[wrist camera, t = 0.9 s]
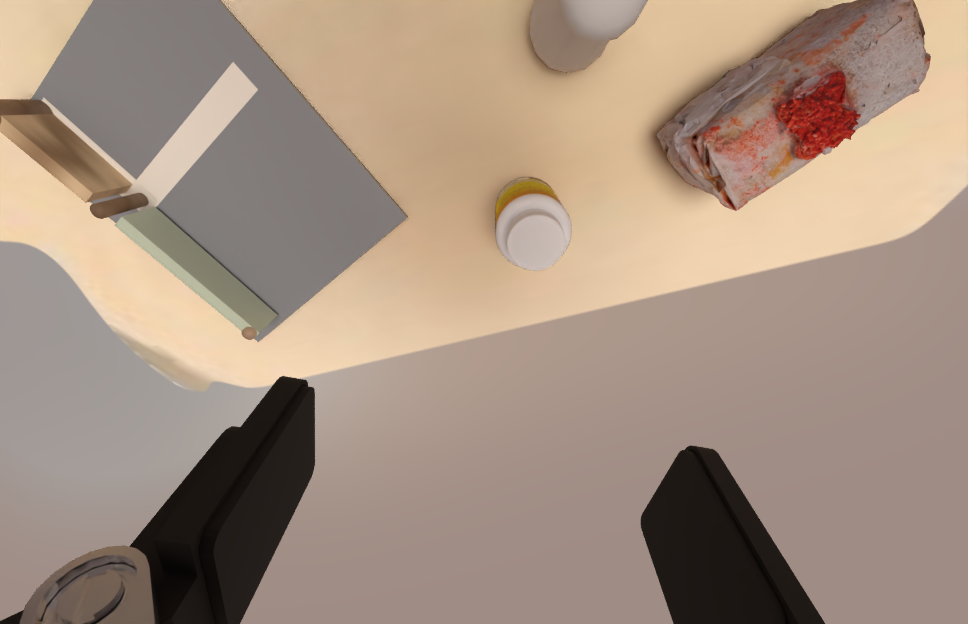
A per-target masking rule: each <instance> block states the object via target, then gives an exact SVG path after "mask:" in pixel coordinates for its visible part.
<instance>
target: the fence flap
mask: <svg viewBox="0 0 968 624" xmlns="http://www.w3.org/2000/svg"><path fill="white" fill-rule="evenodd" d="M115 226H116V227H117V228H118V229H119V230H121V231H122V232H123V233H124V234H125V235H127V236H128V237H129V238H130V239H131V240H133V241H134V242H135V243H136V244H137V245H139V246H140V247H141V248H142V249H143V250H145V251H146V252H147V253H148V254H149V255H151V256H152V257H153V258H154V259H156V260H157V261H158V262H159V263H160V264H162V265H163V266H164V267H165V268H166V269H168V270H169V271H170V272H171V273H172V274H174V275H175V276H176V277H177V278H178V279H180V280H181V281H182V282H183V283H184V284H186V285H187V286H188V287H189V288H190V289H192V290H193V291H194V292H195V293H196V294H198V295H199V296H200V297H201V298H202V299H204V300H205V301H206V302H207V303H208V304H210V305H211V306H212V307H213V308H214V309H216V310H217V311H218V312H219V313H220V314H222V315H223V316H224V317H225V318H226V319H228V320H229V321H230V322H231V323H232V324H234V325H235V326H236V327H237V328H239V329H240V330H241V331H242V335H243V337H244V338H246V339H249V340H251V339H254V338H255V337H256V336H257V335H258V334H259V333H260V332H261V331H262V330H263V329H264V328H265V327H266V326H267V325H268V324H269V323H270V322H272V321H273V320H274V319H275V318H276V317H277V316H278V315H277V314H276V313H275V312H274V311H273V310H271V309H270V308H269V307H268V306H267V305H266V304H265V303H264V302H262V301H261V300H260V299H259V298H258V297H257V296H256V295H254V294H253V293H252V292H251V291H250V290H249V289H248V288H247V287H245V286H244V285H243V284H242V283H241V282H240V281H239V280H237V279H236V278H235V277H234V276H233V275H232V274H231V273H230V272H228V271H227V270H226V269H225V268H224V267H223V266H222V265H220V264H219V263H218V262H217V261H216V260H215V259H214V258H213V257H211V256H210V255H209V254H208V253H207V252H206V251H205V250H203V249H202V248H201V247H200V246H199V245H198V244H197V243H196V242H194V241H193V240H192V239H191V238H190V237H189V236H188V235H186V234H185V233H184V232H183V231H182V230H181V229H180V228H179V227H177V226H176V225H175V224H174V223H173V222H172V221H171V220H169V219H168V218H167V217H166V216H165V215H164V214H163V213H161V212H160V211H159V210H158V209H157V208H156V207H152V208H149V209H145V210H142V211H139V212H135V213H132V214H129V215H125V216H122V217H121V218H120V219H119V221H118V222H117V223H116V224H115Z"/></svg>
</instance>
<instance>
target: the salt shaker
mask: <svg viewBox="0 0 968 624" xmlns="http://www.w3.org/2000/svg"><path fill="white" fill-rule="evenodd" d="M647 1H648V0H536V1H535V3H534V5H533V8H532V10H531V18H530V31H529V35H530V38H531V41H532V43H533V46H534V49H535V52H536V54H537V55H538V56H539V58H540V59H541V60H542V61H543V62H544V63H545V64H546V65H547V66H548V67H549V68H551V69H554V70H558V71H562V72H566V73H568V72H573V71H577V70H582V69H585V68H586V67H588V66H589V65H590V64H591V63H592V62H594V61H595V60H596V59H597V58H598V57H600V56H601V54H602V52H603V51H604V49H605V47H606V45H607V43H608V42H609V40H613V39H617V38H618V37H619V36H620V35H622V34H623V33H624V32H625V31H626V30H628V29H629V28H630V27H631V26H632V25H633V24H634V23H635V22H636V20H637V18H638V17H639V15H640V13H641V11H642V10H643V8H644V6H645V4H646V3H647Z"/></svg>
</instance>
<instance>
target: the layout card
mask: <svg viewBox="0 0 968 624" xmlns="http://www.w3.org/2000/svg"><path fill="white" fill-rule="evenodd" d="M31 100H41V101H43V102H44V103H46V104H47V105H48V106H49V107H50V108H51V110H52V112H53V114H54V115H55V116H56V117H57V118H58V119H59V120H61V121H62V122H63V123H64V124H65V125H66V126H67V127H68V128H70V129H71V130H72V131H73V132H74V133H75V134H76V135H78V136H79V137H80V138H81V139H82V140H83V141H84V142H85V143H87V144H88V145H89V146H90V147H91V148H92V149H93V150H94V151H96V152H97V153H98V154H99V155H100V156H101V157H102V158H104V159H105V160H106V161H107V162H108V163H109V164H110V165H111V166H113V167H114V168H115V169H116V170H117V171H118V172H119V173H121V174H122V175H123V176H124V177H125V178H126V179H127V180H128V181H130V182H131V183H132V184H133V185H132V186H131V187H130V188H129V190H128V191H127V192H126V193H123V194H119V195H115V196H111V197H107V198H103V199H99V200H94V201H90V202H91V203H92V204H95V203H99V202H103V201H107V200H111V199H115V198H119V197H123V196H127V195H131V194H135V193H142V194H144V195H145V196H146V197H147V198H148V201H149V203H148V205H147V206H144V207H140V208H137V209H133V210H130V211H127V212H123V213H120V214H116V215H113V216H110V217H109V218H110V219H112V220H113V221H114V222H115V223H117V222H118V221H119V219H120V218H121V217H122V216H125V215H129V214H132V213H135V212H139V211H142V210H145V209H149V208H152V207H156V208H157V209H158V210H159V211H160V212H161V213H163V214H164V215H165V216H166V217H167V218H168V219H169V220H171V221H172V222H173V223H174V224H175V225H176V226H177V227H179V228H180V229H181V230H182V231H183V232H184V233H185V234H186V235H188V236H189V237H190V238H191V239H192V240H193V241H194V242H196V243H197V244H198V245H199V246H200V247H201V248H202V249H203V250H205V251H206V252H207V253H208V254H209V255H210V256H211V257H213V258H214V259H215V260H216V261H217V262H218V263H219V264H220V265H222V266H223V267H224V268H225V269H226V270H227V271H228V272H230V273H231V274H232V275H233V276H234V277H235V278H236V279H237V280H239V281H240V282H241V283H242V284H243V285H244V286H245V287H247V288H248V289H249V290H250V291H251V292H252V293H253V294H254V295H256V296H257V297H258V298H259V299H260V300H261V301H262V302H264V303H265V304H266V305H267V306H268V307H269V308H270V309H271V310H273V311H274V312H275V313H276V314H277V315H278V316H277V317H276V318H275V319H274V320H273V321H272V322H270V323H269V324H268V325H267V326H266V327H265V328H264V329H263V330H262V331H261V332H260V333H259V334H258V335H257V336H256V337H255V338H254V339H255V340H257V341H258V342H259V341H260V340H261V339H263V338H264V337H265V336H266V335H267V334H268V333H270V332H271V331H272V330H273V329H274V328H276V327H277V326H278V325H279V324H280V323H282V322H283V321H284V320H285V319H286V318H288V317H289V316H290V315H291V314H292V313H294V312H295V311H296V310H297V309H298V308H300V307H301V306H302V305H303V304H304V303H306V302H307V301H308V300H309V299H310V298H312V297H313V296H314V295H315V294H316V293H318V292H319V291H320V290H321V289H322V288H323V287H325V286H326V285H327V284H328V283H329V282H331V281H332V280H333V279H334V278H335V277H337V276H338V275H339V274H340V273H341V272H343V271H344V270H345V269H346V268H347V267H349V266H350V265H351V264H352V263H353V262H355V261H356V260H357V259H358V258H359V257H361V256H362V255H363V254H364V253H365V252H367V251H368V250H369V249H370V248H371V247H373V246H374V245H375V244H376V243H377V242H378V241H380V240H381V239H382V238H383V237H384V236H386V235H387V234H388V233H389V232H390V231H392V230H393V229H394V228H395V227H396V226H398V225H399V224H400V223H401V222H402V221H404V220H405V219H406V218H407V217H408V216H407V215H406V214H405V213H404V212H403V211H402V209H401V208H400V207H399V206H398V205H397V204H396V203H395V201H394V200H393V199H392V198H391V197H390V196H389V194H388V193H387V192H386V191H385V190H384V189H383V188H382V186H381V185H380V184H379V183H378V182H377V181H376V179H375V178H374V177H373V176H372V175H371V174H370V173H369V171H368V170H367V169H366V168H365V167H364V166H363V164H362V163H361V162H360V161H359V160H358V159H357V158H356V156H355V155H354V154H353V153H352V152H351V151H350V149H349V148H348V147H347V146H346V145H345V144H344V143H343V141H342V140H341V139H340V138H339V137H338V136H337V134H336V133H335V132H334V131H333V130H332V129H331V128H330V126H329V125H328V124H327V123H326V122H325V121H324V119H323V118H322V117H321V116H320V115H319V114H318V113H317V111H316V110H315V109H314V108H313V107H312V106H311V104H310V103H309V102H308V101H307V100H306V99H305V98H304V96H303V95H302V94H301V93H300V92H299V91H298V89H297V88H296V87H295V86H294V85H293V84H292V83H291V81H290V80H289V79H288V78H287V77H286V76H285V74H284V73H283V72H282V71H281V70H280V69H279V68H278V66H277V65H276V64H275V63H274V62H273V61H272V59H271V58H270V57H269V56H268V55H267V54H266V53H265V51H264V50H263V49H262V48H261V47H260V46H259V44H258V43H257V42H256V41H255V40H254V39H253V38H252V36H251V35H250V34H249V33H248V32H247V31H246V29H245V28H244V27H243V26H242V25H241V24H240V23H239V21H238V20H237V19H236V18H235V17H234V16H233V14H232V13H231V12H230V11H229V10H228V9H227V8H226V6H225V5H224V4H223V3H222V2H221V1H220V0H93V2H92V4H91V5H90V7H89V8H88V10H87V12H86V13H85V15H84V16H83V18H82V19H81V21H80V23H79V24H78V26H77V27H76V29H75V31H74V32H73V34H72V35H71V37H70V39H69V40H68V42H67V43H66V45H65V46H64V48H63V50H62V51H61V53H60V54H59V56H58V58H57V59H56V61H55V62H54V64H53V66H52V67H51V69H50V70H49V72H48V73H47V75H46V77H45V78H44V80H43V81H42V83H41V85H40V86H39V88H38V89H37V91H36V92H35V94H34V96H33V97H32V99H31Z"/></svg>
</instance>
